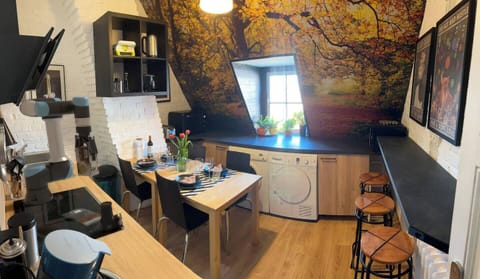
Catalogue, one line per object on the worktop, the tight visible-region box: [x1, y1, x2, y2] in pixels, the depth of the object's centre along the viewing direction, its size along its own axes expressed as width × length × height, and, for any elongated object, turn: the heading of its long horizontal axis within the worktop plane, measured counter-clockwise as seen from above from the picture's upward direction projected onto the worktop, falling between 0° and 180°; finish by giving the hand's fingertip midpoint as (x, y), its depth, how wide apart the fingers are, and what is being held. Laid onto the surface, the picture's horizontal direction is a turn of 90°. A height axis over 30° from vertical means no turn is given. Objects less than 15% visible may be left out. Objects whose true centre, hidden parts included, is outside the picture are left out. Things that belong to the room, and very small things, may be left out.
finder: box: [68, 208, 86, 220], centre depth 164 cm, size 6×5×3 cm
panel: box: [61, 207, 101, 227], centre depth 165 cm, size 23×12×1 cm, turn 60°
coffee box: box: [74, 144, 100, 177], centre depth 164 cm, size 9×6×16 cm
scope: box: [98, 200, 124, 232], centre depth 151 cm, size 8×14×10 cm
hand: (87, 165), depth 165 cm, fingers closed on coffee box, 10 cm apart
